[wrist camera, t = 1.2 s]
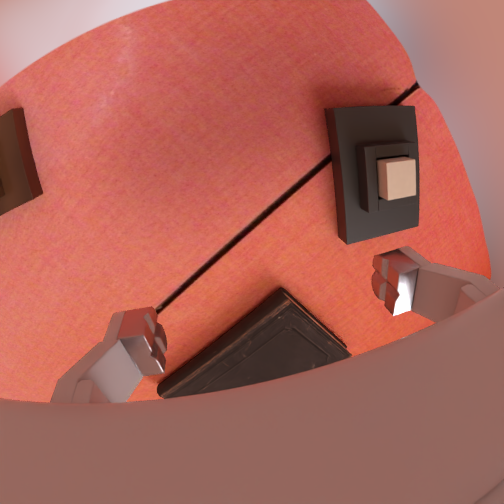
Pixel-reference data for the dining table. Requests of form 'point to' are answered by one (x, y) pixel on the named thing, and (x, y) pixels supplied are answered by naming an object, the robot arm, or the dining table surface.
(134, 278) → the dining table surface
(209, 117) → the dining table surface
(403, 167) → the key
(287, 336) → the hardcover book
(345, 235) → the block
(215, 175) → the dining table surface
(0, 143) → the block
